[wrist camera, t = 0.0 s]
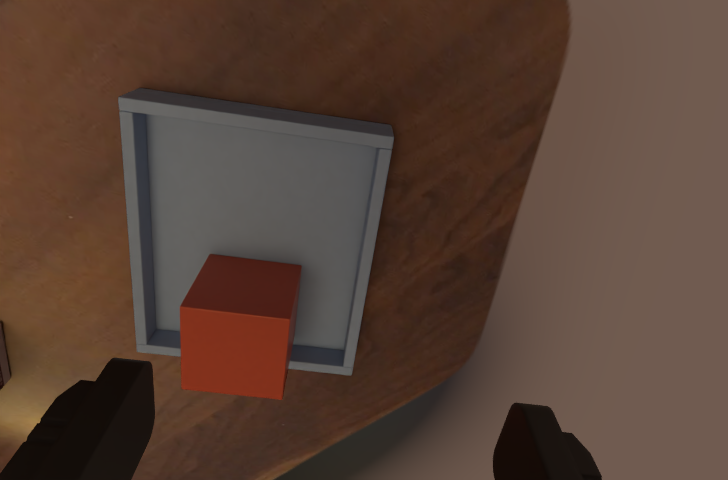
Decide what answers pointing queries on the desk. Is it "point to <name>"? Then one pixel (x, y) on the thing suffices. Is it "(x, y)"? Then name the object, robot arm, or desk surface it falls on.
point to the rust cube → (239, 327)
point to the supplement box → (3, 361)
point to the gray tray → (252, 211)
